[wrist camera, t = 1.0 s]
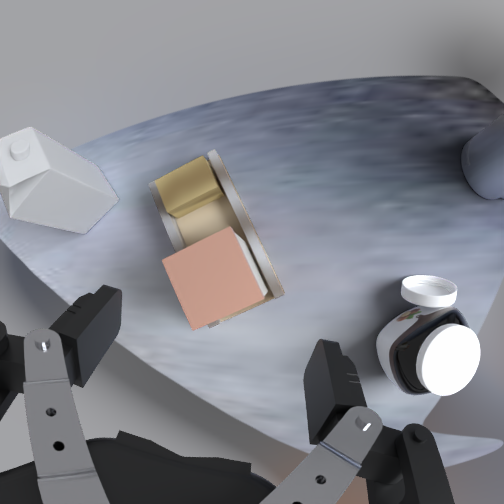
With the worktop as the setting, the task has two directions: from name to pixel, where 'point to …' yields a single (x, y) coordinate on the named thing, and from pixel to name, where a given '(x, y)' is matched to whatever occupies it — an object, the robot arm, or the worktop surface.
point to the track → (209, 214)
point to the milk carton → (51, 183)
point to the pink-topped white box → (215, 278)
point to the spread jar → (429, 340)
